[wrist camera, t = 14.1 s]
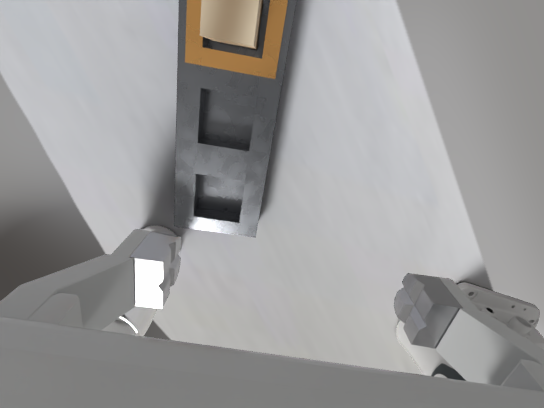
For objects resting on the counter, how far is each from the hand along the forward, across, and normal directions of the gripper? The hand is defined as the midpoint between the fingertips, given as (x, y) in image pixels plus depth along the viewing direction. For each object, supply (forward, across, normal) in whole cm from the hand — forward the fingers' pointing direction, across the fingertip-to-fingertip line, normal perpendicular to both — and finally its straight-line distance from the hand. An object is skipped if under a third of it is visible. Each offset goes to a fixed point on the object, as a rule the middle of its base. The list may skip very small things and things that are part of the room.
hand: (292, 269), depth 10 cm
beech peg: (+24, -6, +10) cm, 27 cm away
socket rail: (+25, -6, +1) cm, 26 cm away
